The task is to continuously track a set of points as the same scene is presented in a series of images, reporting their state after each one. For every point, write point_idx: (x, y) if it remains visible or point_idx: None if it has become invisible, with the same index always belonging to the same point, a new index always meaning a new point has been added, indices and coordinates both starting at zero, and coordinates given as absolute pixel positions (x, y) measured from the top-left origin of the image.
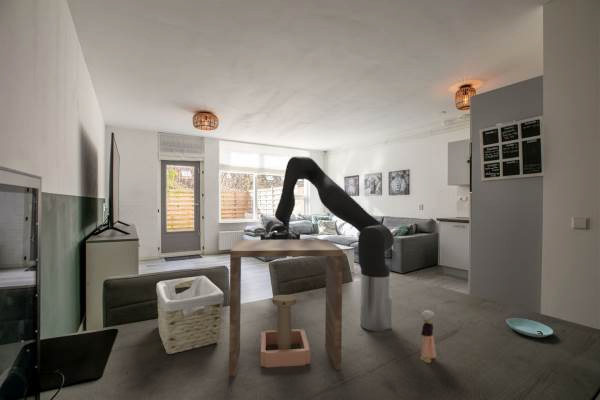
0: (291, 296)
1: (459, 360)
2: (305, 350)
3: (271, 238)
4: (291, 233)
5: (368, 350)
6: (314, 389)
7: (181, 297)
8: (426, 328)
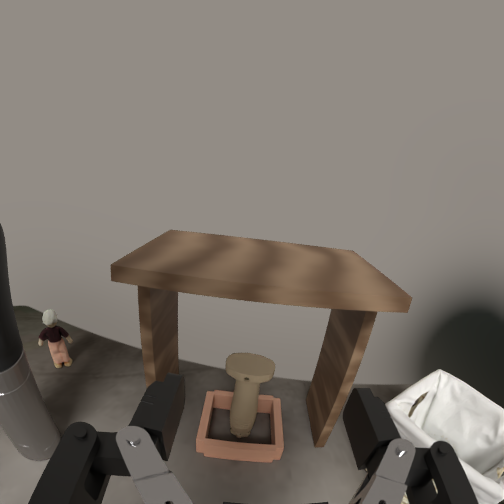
0: (234, 365)
1: (42, 349)
2: (213, 392)
3: (356, 497)
4: (137, 479)
5: (108, 400)
6: (216, 372)
7: (489, 476)
8: (61, 327)
